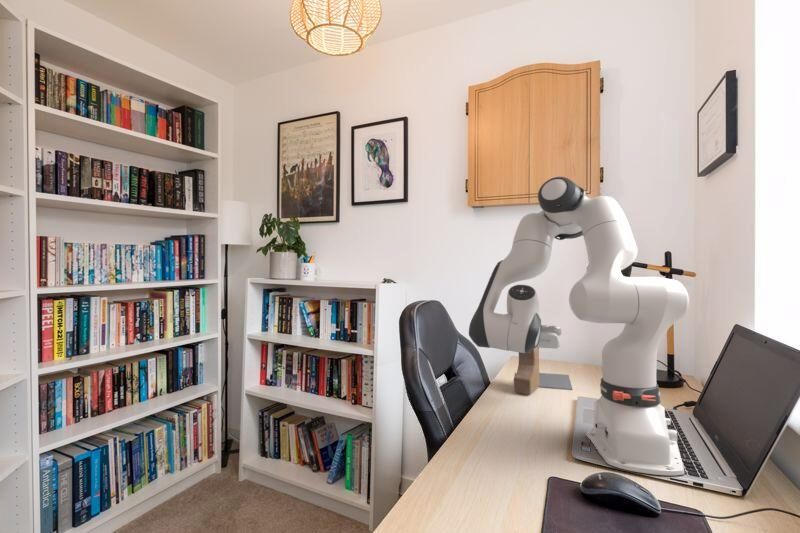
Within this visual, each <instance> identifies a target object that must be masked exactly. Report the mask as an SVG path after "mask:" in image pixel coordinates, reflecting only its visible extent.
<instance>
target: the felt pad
mask: <svg viewBox="0 0 800 533" xmlns="http://www.w3.org/2000/svg"><path fill="white" fill-rule="evenodd" d="M538 388H540V389H541V388H542V389H555V390H568V391H573V386H572V383H571V379H570V375H569V374H563V373H561V374H560V373H547V372H539V387H538Z"/></svg>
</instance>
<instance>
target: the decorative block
mask: <svg viewBox="0 0 800 533" xmlns="http://www.w3.org/2000/svg"><path fill="white" fill-rule="evenodd" d="M517 353H518V367H517V370H516V371H517V373H516V372H515V376H514V377H513V391H514V392H515V393H520V394H525V395H526V394H527V395H531V394H532V393H533V392H534V391H536V389H538V388H539V373H540V348H535V349H533V350H532V351H531V352H530V353H527V354H526V353H520V352H517Z"/></svg>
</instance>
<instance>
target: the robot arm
mask: <svg viewBox="0 0 800 533" xmlns="http://www.w3.org/2000/svg"><path fill="white" fill-rule="evenodd" d="M537 200H538V204H539V207H540V208H541V209H542V210H541V211H539V212H537V213H536V212H533V213H532V212H531V213H527V214H526V215H524V216H522V218H521V219H520V221H519V223H518V225H517V228H516V230H515V233H514V237H513V241H512V245H511V248H510V251H509V253H508V254H507V256H506V257H504V259H502V260H500V261H498V262H497V263H496V265H495V267H494V268H493V270H492V273H491V275H490V277H489V279H488V281H487V285H486V286H485V289H484V291H483V295H482V297H481V299H480V302H479V304H478V306H477V308H476V310H475V312H474V313H473V316H472V318H471V320H470V323H469V327H468V336H469V338H470V340H471V341H472V342H473V343H474V344H475V345H476V346H477V347H478V348H487V349H488V348H489V349H490V348H491V349H499V350H503V351H506V352H507V351H508V352H509V351H510V352H514V353H518V352H520V353H526V354H527V353H530V352H531V351H532V350H533V349H535V348H539V349H558V348H560V346H561V345H560V336H561V335H562V329H561V328H560V327H557V326H556V325H545V324H542V319H541V317H540V302H539V296H538V293H537V291H536V289H535V288H534V287H532V286H531V285H527V284H515V285H512V286H511V287H510V288H509V289H508V290H507V295H506V312H507V313H505V314H503V313H497V312H494V311H495V309H496V307H497V305H498V302H499V299H500V297H501V294H502V291H503V290H504V289H505V288H506V287H507V286H509V285H511V284H514V283H517V282H521V281H526V280H531V279H533V278H536V277H538V276H541V275H542V274H543V272H545V271H546V270H547V269H548V266H549V265H550V264H549V263H550V260H551V256H552V248H553V242H554V240H555V239H556V240H558V241H563V240H565V239H567V240H568V239H569V240H571V239H576V238H579V237H583V240H584V243H585V248H586V252H587V258H588V266H587V269H586V272H585V273H584V275H583V276H582V277H581V278H580V279H579V280H578V281H576V282H575V283H574V285H573V286H572V288H571V290H570V292H569V297H568V302H569V307H570V309H571V311H572V313H573V314H574V316H575V317H576V319H578V320H581V321H584V322H590V323H596V324H625V325H624V328H623V330H622V331H621V332H620V333H619V335H617V336H615V337H614V338H611V339H610V340H608V341H607V342H606V343H605V344H604V346H603V348H602V351H601V363H602V364H601V366H602V367H601V368H602V372H601V373H602V374H601V375H602V377H601V378H600V383H599V387H600V394H601V396H600V397H599V398H598V399H597V400H595V402H594V403H593V404H594V405H593V429H590V430H587V431H586V432H585V433H586V434H585V436H586V435H587V437H588V438H589V439H590V440H591V442H592V443H593V444H594V446H595V447H596V448H595V447H594V446H593V447H594V448H595V450H596V449H597V450H598V451H597V450H596V451H597V452H598V453H599V455H600V456H601V457H602V459H603V460H604V461H605V462H606V463H607V465H610V466H612V467H615V468H619V469H622V470H626V471H630V472H636V473H642V474H649V475H656V476H658V475H659V476H668V477H669V476H670V477H671V476H674V477H675V476H682V475H685V469H684V465H683V461H682V456H681V453H680V448H679V445H678V432H677V430H676V429H668V425H669V426H671V424H672V420H671V418H669V417H668V418H667V417H666V411H665V410H666V409H665V407H664V406H663V405H662V404H661V391H660V388H659V384H658V383H657V363H658V351H659V348H660V344H661V342H662V340H663V338H664V337H665V334H666V333H667V331H668V330H669V329H670V328H671V327H672V326H673V325H674V324H675V323H676V322H677V321H679V320H681V319H682V318H684V316H685V315H686V313H687V312H688V310H689V307H690V296H689V293H688V291H687V289H686V288H685V286H684V285H683V284H682V283H681V282H680V281H679V280H677V279H673V278H667V277H660V276H625V275H623V274H622V271H623V270H625V269H626V268H628V267H629V266H631V265H632V264H633V263H634V262H635V260H636V259H637V257H638V246H637V244H636V240H635V238H634V235H633V232H632V228H631V226H630V224H629V221H628V218H627V217H626V215H625V212H624V211H623V209H622V208H621V206H620V204H619V203H618V201H617V200H616V199H614V198H613V197H611V196H608V195H607V196H606V195H599V196H595V197H587V196H586V189H584V188H582V187H581V186H579V185H578V184H576V183H575V182H574V181H573V180H571V179H569V178H567V177H564V176H555V177H552V178H549V179H548V180H546V181H545V182H544V183H543V184H542V185H541V186H540V188H539V190H538V193H537ZM587 437H586V438H587ZM588 438H587V439H588ZM589 439H588V440H589ZM590 440H589V441H590ZM591 442H590V443H591ZM592 443H591V444H592ZM593 444H592V445H593Z"/></svg>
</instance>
